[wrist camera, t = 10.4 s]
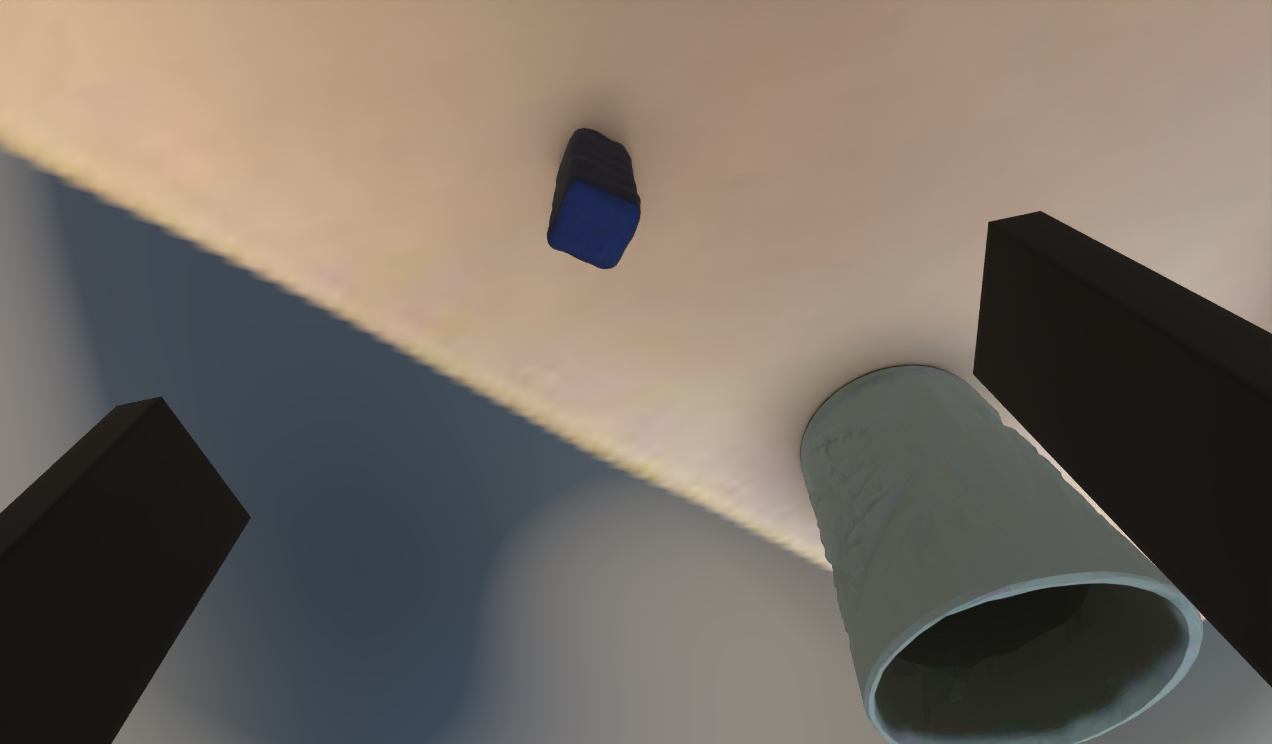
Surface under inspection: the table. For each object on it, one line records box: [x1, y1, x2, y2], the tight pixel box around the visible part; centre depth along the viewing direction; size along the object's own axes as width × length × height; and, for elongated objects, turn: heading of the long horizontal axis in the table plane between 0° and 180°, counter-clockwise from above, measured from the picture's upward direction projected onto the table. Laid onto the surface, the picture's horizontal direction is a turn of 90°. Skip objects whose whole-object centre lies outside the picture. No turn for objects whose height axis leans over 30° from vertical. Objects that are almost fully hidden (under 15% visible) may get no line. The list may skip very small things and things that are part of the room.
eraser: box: [547, 128, 641, 269], centre depth 20 cm, size 2×2×7 cm
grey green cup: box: [801, 365, 1203, 744], centre depth 25 cm, size 10×10×12 cm
